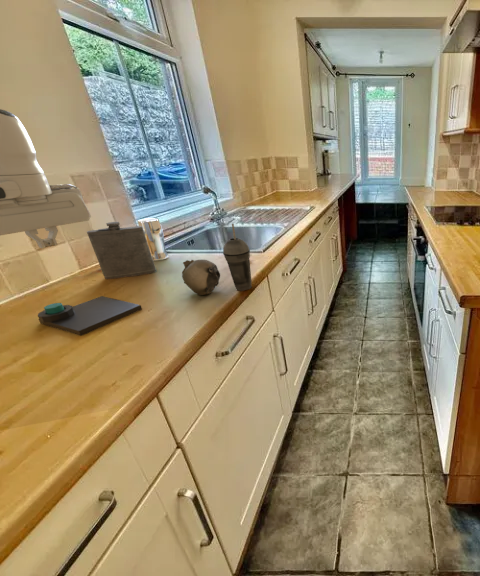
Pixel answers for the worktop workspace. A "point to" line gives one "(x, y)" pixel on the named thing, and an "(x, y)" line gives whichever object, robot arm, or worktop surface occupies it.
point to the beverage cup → (238, 262)
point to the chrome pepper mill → (154, 238)
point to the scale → (88, 315)
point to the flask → (122, 251)
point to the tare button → (54, 308)
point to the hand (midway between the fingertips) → (48, 246)
